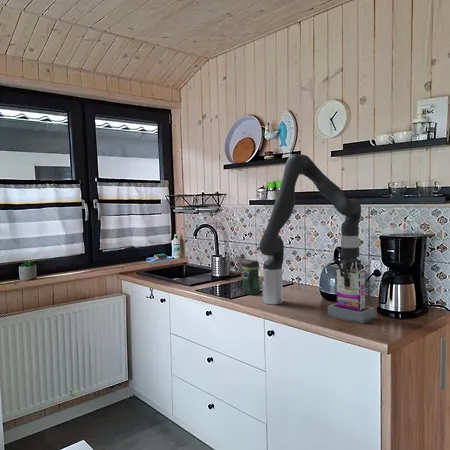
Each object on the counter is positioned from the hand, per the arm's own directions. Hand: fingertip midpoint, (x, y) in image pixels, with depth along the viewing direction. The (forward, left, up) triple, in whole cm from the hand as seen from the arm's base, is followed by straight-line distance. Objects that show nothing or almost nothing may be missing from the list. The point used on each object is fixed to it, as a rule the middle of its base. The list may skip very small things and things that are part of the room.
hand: (350, 285), depth 179 cm
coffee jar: (-63, +5, -14) cm, 65 cm away
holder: (0, 0, -14) cm, 14 cm away
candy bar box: (0, 0, -10) cm, 10 cm away
